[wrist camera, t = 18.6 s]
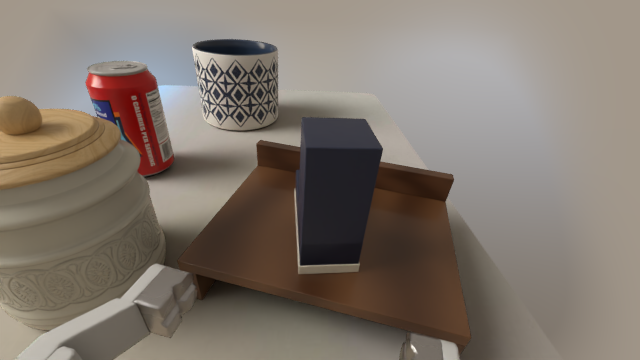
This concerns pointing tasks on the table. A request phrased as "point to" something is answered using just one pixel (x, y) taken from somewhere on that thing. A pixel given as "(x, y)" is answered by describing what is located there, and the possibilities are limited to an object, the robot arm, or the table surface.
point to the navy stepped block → (334, 192)
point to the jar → (69, 214)
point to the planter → (237, 83)
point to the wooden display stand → (375, 260)
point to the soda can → (133, 110)
